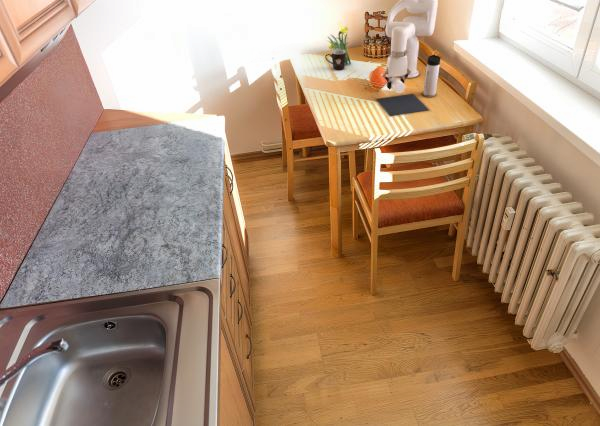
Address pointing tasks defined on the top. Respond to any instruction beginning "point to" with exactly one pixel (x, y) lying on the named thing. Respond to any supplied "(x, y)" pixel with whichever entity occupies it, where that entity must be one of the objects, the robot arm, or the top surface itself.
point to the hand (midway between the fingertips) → (395, 87)
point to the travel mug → (431, 76)
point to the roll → (397, 85)
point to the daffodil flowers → (342, 44)
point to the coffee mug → (337, 59)
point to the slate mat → (402, 104)
